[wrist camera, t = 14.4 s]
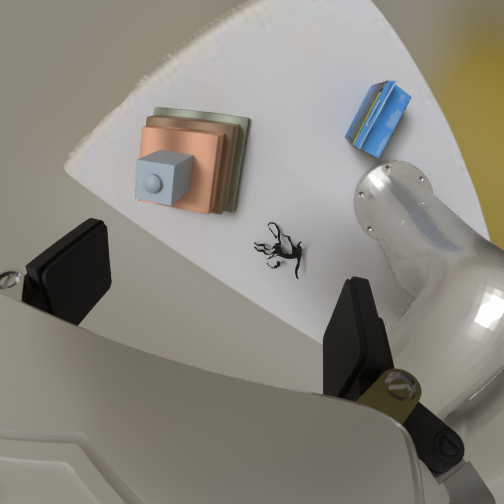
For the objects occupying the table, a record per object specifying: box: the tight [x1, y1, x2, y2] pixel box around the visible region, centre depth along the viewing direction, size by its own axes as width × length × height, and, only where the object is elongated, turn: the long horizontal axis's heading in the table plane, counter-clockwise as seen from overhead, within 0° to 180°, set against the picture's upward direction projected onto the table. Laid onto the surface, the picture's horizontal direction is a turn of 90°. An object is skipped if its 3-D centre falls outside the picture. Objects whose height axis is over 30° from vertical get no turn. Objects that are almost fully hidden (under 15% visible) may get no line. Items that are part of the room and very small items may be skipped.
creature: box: [254, 222, 302, 279], centre depth 46 cm, size 8×5×8 cm
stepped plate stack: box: [138, 107, 249, 215], centre depth 40 cm, size 14×14×8 cm
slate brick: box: [135, 150, 194, 206], centre depth 34 cm, size 4×4×7 cm
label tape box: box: [345, 80, 411, 158], centre depth 32 cm, size 9×4×12 cm, turn 156°
